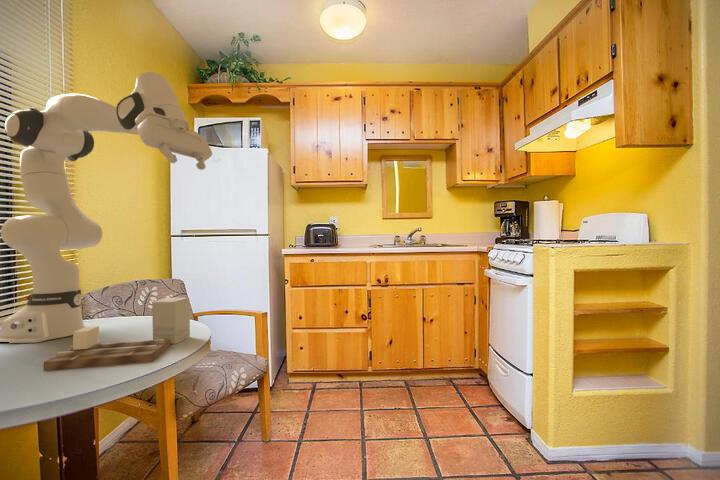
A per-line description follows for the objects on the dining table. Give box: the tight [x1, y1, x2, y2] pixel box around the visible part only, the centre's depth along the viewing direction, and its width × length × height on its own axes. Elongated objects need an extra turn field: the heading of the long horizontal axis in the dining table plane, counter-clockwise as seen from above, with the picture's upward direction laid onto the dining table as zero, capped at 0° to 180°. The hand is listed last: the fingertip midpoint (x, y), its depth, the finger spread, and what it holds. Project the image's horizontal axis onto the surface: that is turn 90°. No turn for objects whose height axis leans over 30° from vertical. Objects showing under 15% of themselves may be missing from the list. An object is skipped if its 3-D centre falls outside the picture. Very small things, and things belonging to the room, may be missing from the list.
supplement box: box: [151, 297, 191, 345], centre depth 97 cm, size 7×7×13 cm
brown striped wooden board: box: [43, 339, 171, 371], centre depth 83 cm, size 23×12×3 cm, turn 103°
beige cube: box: [71, 325, 102, 351], centre depth 82 cm, size 5×5×5 cm
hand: (188, 165), depth 88 cm, fingers open, 8 cm apart
